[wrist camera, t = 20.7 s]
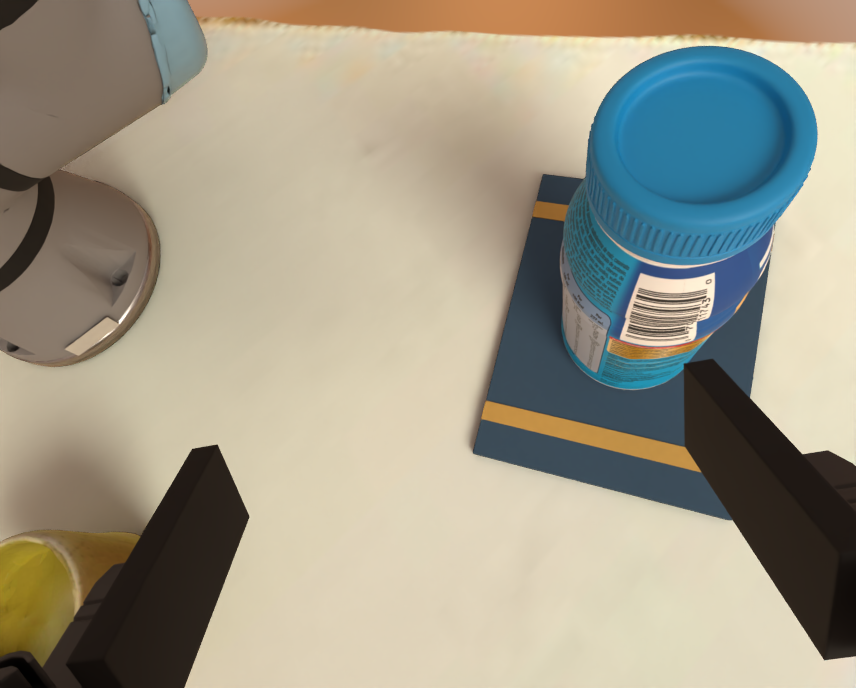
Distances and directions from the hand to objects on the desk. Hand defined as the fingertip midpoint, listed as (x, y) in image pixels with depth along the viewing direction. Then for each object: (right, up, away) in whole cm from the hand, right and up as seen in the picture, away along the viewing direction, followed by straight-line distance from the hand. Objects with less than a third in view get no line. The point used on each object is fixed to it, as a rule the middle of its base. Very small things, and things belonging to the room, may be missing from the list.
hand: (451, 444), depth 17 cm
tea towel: (+12, +4, +21) cm, 24 cm away
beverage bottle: (+12, +4, +21) cm, 24 cm away
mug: (-23, -14, +23) cm, 36 cm away
